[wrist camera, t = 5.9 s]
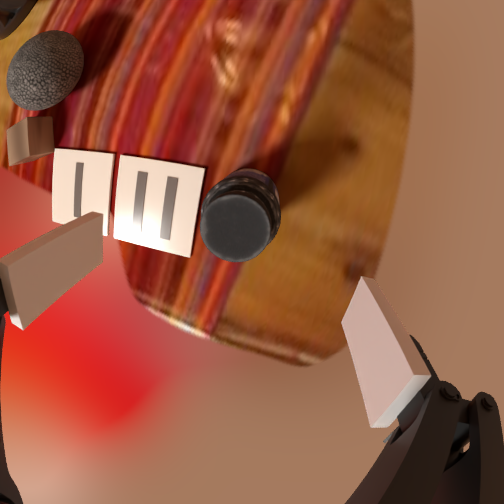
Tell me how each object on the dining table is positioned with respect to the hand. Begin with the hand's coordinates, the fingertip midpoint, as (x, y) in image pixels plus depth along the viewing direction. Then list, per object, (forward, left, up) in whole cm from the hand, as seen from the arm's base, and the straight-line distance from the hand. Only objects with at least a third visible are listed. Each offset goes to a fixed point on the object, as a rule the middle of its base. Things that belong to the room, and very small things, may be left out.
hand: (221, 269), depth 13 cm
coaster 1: (-21, -3, -17) cm, 27 cm away
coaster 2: (-10, -3, -17) cm, 20 cm away
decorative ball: (-26, +12, -17) cm, 33 cm away
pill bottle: (0, 0, -17) cm, 17 cm away
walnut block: (-30, +3, -17) cm, 34 cm away
